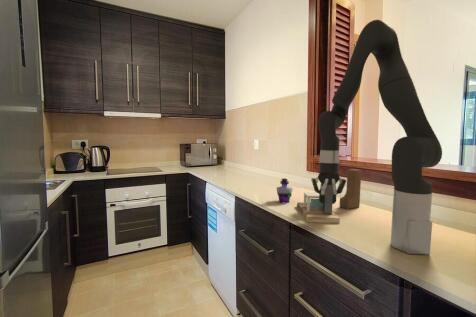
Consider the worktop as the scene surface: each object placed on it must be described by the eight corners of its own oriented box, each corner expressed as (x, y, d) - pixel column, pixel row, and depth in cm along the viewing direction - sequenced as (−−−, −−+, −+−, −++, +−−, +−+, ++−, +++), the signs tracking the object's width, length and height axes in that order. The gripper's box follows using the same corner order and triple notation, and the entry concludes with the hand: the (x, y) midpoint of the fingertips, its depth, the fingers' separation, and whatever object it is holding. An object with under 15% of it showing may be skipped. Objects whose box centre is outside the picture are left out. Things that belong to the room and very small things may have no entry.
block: (321, 210, 105) (322, 201, 105) (312, 210, 105) (312, 200, 105) (319, 207, 109) (319, 198, 109) (310, 207, 109) (310, 198, 109)
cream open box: (328, 211, 103) (329, 196, 103) (307, 211, 104) (307, 195, 103) (323, 206, 110) (324, 192, 110) (303, 206, 111) (304, 192, 110)
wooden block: (347, 209, 114) (349, 170, 112) (339, 207, 118) (340, 169, 116) (359, 207, 118) (361, 169, 116) (351, 204, 122) (353, 168, 120)
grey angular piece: (332, 214, 99) (333, 184, 98) (312, 213, 100) (313, 184, 99) (324, 206, 110) (325, 180, 109) (306, 206, 110) (307, 180, 109)
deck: (339, 223, 95) (339, 218, 95) (308, 222, 95) (308, 217, 95) (322, 207, 117) (322, 202, 117) (297, 206, 118) (297, 202, 118)
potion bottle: (289, 204, 121) (289, 180, 120) (272, 202, 126) (273, 178, 125) (294, 200, 129) (295, 178, 128) (279, 198, 133) (279, 176, 132)
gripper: (313, 162, 96) (312, 205, 97) (350, 162, 95) (348, 206, 96) (309, 160, 103) (307, 200, 105) (343, 160, 103) (341, 201, 104)
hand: (327, 203), depth 101 cm, fingers open, 3 cm apart
